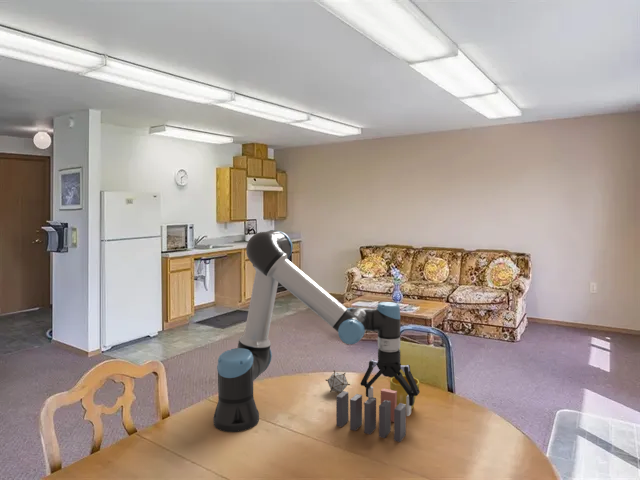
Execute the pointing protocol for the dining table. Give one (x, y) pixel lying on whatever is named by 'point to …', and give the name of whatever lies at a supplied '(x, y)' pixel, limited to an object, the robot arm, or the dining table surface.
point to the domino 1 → (342, 409)
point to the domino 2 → (355, 412)
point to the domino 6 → (399, 422)
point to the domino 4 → (390, 399)
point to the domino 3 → (370, 415)
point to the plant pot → (401, 390)
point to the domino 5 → (384, 418)
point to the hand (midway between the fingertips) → (389, 410)
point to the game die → (337, 382)
